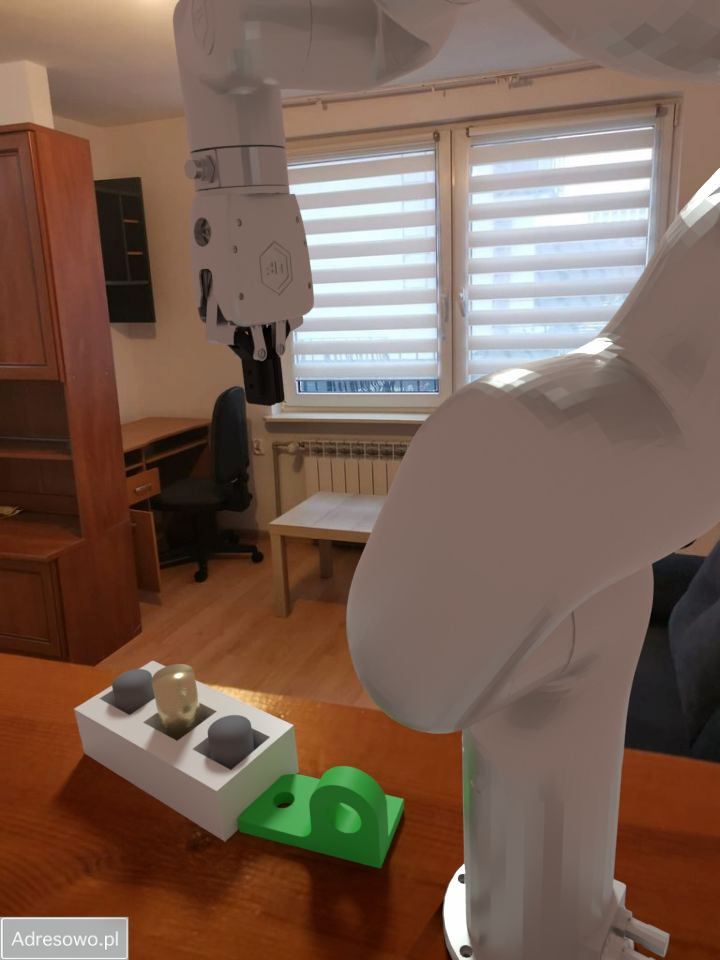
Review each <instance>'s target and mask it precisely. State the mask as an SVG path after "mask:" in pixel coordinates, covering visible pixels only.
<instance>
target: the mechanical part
mask: <svg viewBox="0 0 720 960" xmlns="http://www.w3.org/2000/svg"><path fill="white" fill-rule="evenodd" d="M282 804H290V805H289V806H287V807H278V806H281V805H282ZM404 810H405V799H404V798H402V797H401V798H400V797H399V796H398V797H397V796H392V795H389V794H385V792H384V790H383V788H382V787H381V785H380V784H379V783H378V782H377V781H376V780H375V779H374V778H373V777H372V776H370V775H369V774H367V773H366V772H364V771H362V770H361V769H358V768H356V767H354V766H347V765H346V766H345V765H339V766H338V765H337V766H334V767H332V768H329V769H327V770H326V771H325V772H324V773H323V774H322V776H321V778H316V777H313V776H307V775H304V774H299V773H298V774H287V775H282V776H281V777H280V778H279V779H277V780H276V781H275V782H274V783H273V784H272V785H271V786H270V787H269V788H268V789H267V790H265V791H264V792H263V793H262V794H261V795H260V796H259V797H258V798H257V799H256V800H255V801H254V802H252V803H251V804H250V805H249V806H248V807H247V808H246V809H245V810H244V811H243V813H242V814H241V816H240V817H239V819H238V824H239V829H238V830H239V833H243V834H247V835H250V836H255V837H258V838H262V839H265V840H270V841H274V842H277V843H281V844H285V845H289V846H293V847H296V848H301V849H304V850H308V851H312V852H316V853H319V854H324V855H327V856H331V857H335V858H337V859H338V858H339V859H342V860H347V861H350V862H354V863H358V864H362V865H365V866H370V867H373V868H377V869H382V867H383V864H384V861H385V858H386V857H387V854H388V851H389V849H390V846H391V844H392V840H393V838H394V836H395V833H396V830H397V828H398V825H399V824H400V820H401V818H402V815H403V813H404Z"/></svg>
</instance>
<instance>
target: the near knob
mask: <svg viewBox="0 0 720 960" xmlns="http://www.w3.org/2000/svg"><path fill="white" fill-rule="evenodd" d="M208 739H209V745H210V752H211V758H212V760H213V761H215V762H217V763H219V764H221V765H222V766H224V767H226V768H228V769H230V770H232V769H233V768H234V767H235V766H237V765H238V764H239V763H240V762H241V761H243V760H244V759H245V758H246V757H247V756H248V755H250V754H251V753H252V752H253V751H254V743H253V735H252V728H251V723H250V721H249V720H248V719H247V718H246V717H243V716H240V715H229V716H225V717H222V718H220V719H218V720H216V721H215V722H213V723H212V724H211V726H210V727H209V729H208Z"/></svg>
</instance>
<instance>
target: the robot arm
mask: <svg viewBox="0 0 720 960" xmlns="http://www.w3.org/2000/svg"><path fill="white" fill-rule="evenodd" d="M508 1H509V2H510V3H511V4H512V5H513V6H515V8H517V9H518V10H519V11H520V12H521V13H523V14H524V15H525V16H526V17H527V18H529V19H530V20H531V21H532V22H533V23H535V25H537V26H538V27H540V28H541V30H543V31H544V32H545V33H547V34H548V35H549V36H551V37H552V38H553V39H554V40H556V41H557V42H558V43H560V44H561V45H562V46H564V47H565V48H567V49H568V50H570V51H571V52H573V53H575V54H577V55H578V56H580V57H582V58H584V59H585V60H588V61H589V62H591V63H594V64H595V65H598V66H600V67H602V68H605V69H607V70H611V71H614V72H617V73H621V74H624V75H629V76H631V77H636V78H639V79H645V80H652V81H657V82H658V81H660V82H671V83H672V82H674V83H675V82H678V83H687V84H698V85H699V84H700V85H710V86H719V87H720V0H508ZM477 2H480V0H178V1H177V3H176V4H175V7H174V9H173V15H172V25H173V26H172V27H173V36H174V44H175V51H176V60H177V67H178V73H179V81H180V82H179V83H180V90H181V97H182V105H183V112H184V119H185V129H186V137H187V143H188V151H189V158H190V159H187V161H186V162H185V163H184V167H183V168H184V174H185V176H186V177H187V178H188V179H189V180H192V181H193V189H194V196H195V197H193V198H191V199H190V211H189V212H190V213H189V216H190V217H189V248H190V249H189V251H190V253H189V254H190V267H191V268H190V269H191V279H192V288H193V295H194V302H195V306H196V310H197V315H198V317H199V319H200V321H201V322H202V323H204V324H205V340H206V342H208V343H209V344H217V345H218V344H219V345H226V346H227V347H228V348H230V349H231V350H232V352H233V356H234V358H235V359H237V360H240V361H241V369H242V378H243V384H244V385H243V386H244V394H245V401H246V402H247V403H248V404H251V405H258V406H267V407H272V406H275V405H276V404H280V403H284V402H285V400H286V399H285V398H286V397H285V388H284V387H285V385H284V377H283V368H282V358H281V357H282V356H284V355H285V353H286V341H287V339H288V337H289V335H290V333H291V332H293V331H295V330H297V328H300V327H301V326H302V325H303V323H304V317H303V316H306V315H308V314H309V313H310V312H311V311H312V309H313V308H314V305H315V294H314V293H315V292H314V283H313V277H312V276H313V275H312V269H311V268H312V267H311V266H312V265H311V261H310V260H311V258H310V253H309V247H308V241H307V235H306V230H305V226H304V221H303V217H302V213H301V209H300V204H299V203H298V199H297V196H296V193H291V192H290V182H289V180H290V179H289V171H288V161H287V150H286V136H285V135H286V134H285V125H284V113H283V105H282V104H283V103H282V90H300V91H301V90H302V91H319V92H321V91H322V92H324V91H325V92H332V93H333V92H335V93H358V92H362V91H363V92H364V91H368V90H371V89H375V88H379V87H380V86H383V85H386V84H388V83H390V82H392V81H395V80H398V79H400V78H402V77H404V76H407V75H409V74H411V73H413V72H415V71H417V70H419V69H421V68H423V67H425V66H427V65H428V64H429V63H431V62H432V61H433V60H434V59H435V58H436V57H437V56H438V54H439V53H440V52H441V50H442V49H443V47H444V45H446V42H447V40H448V39H449V38H450V36H451V34H452V32H453V30H454V29H455V27H456V23H457V21H458V19H459V16H460V14H461V11H463V10H464V9H466V8H468V7H469V6H471V5H473V4H475V3H477ZM385 497H386V498H384V502H383V504H382V507H381V509H380V511H379V513H378V516H377V518H376V520H375V522H374V526H373V528H372V530H371V532H370V534H369V536H368V539H367V542H366V544H365V546H364V549H363V551H362V554H361V556H360V559H359V560H358V563H357V566H356V567H355V571H354V573H353V577H352V580H351V584H350V589H349V591H348V597H347V605H346V616H345V617H346V618H345V619H346V624H345V625H346V639H347V643H348V644H347V645H348V649H349V654H350V658H351V662H352V665H353V668H354V671H355V673H356V676H357V678H358V681H359V683H360V684H361V685H362V688H363V689H364V691H365V692H366V694H367V695H368V697H369V698H370V699H371V700H372V702H373V703H374V704H375V705H376V706H377V707H378V708H379V709H380V710H381V711H382V712H383V713H385V714H386V715H387V716H388V717H389V718H391V719H393V720H394V721H395V722H397V723H399V724H401V725H402V726H405V727H407V728H409V729H412V730H414V731H415V730H416V731H419V732H422V733H427V734H428V733H429V734H435V735H436V734H438V735H439V734H441V735H442V734H451V733H455V732H456V733H457V732H460V731H461V733H462V734H461V751H462V753H461V754H462V755H461V756H462V758H461V759H462V763H461V764H462V766H461V767H462V804H463V805H462V811H463V812H462V813H463V814H462V815H463V818H462V819H463V864H462V865H461V866H460V867H459V868H458V869H457V870H456V871H455V873H453V876H452V877H451V880H450V881H449V883H448V885H447V888H446V891H445V894H444V897H443V902H442V903H443V904H442V931H443V935H444V939H445V945H446V948H447V950H448V952H449V955H450V957H451V960H656V959H655V958H654V957H647V956H646V955H644V954H642V953H640V952H638V951H636V950H635V943H637V944H639V945H641V946H642V947H643V948H644V949H647V951H650V952H652V953H654V954H655V955H658V956H660V957H662V958H665V956H666V954H667V950H668V948H669V943H670V933H668V932H666V931H664V930H661V929H660V928H657V927H656V926H653V925H651V924H647V923H645V922H642V921H641V920H638V919H636V918H635V917H633V912H632V911H631V910H629V909H628V908H626V906H625V905H626V892H627V891H626V890H627V885H626V884H625V883H624V882H622V881H619V880H617V879H615V878H614V876H615V866H616V865H615V861H616V849H617V848H616V847H617V836H618V824H619V822H618V821H619V810H620V809H619V808H620V797H621V796H620V795H621V782H622V769H623V761H624V753H625V752H624V750H625V738H626V728H627V727H626V726H627V717H628V710H629V709H628V708H629V704H630V696H631V691H632V687H633V681H634V676H635V672H636V670H637V666H638V663H639V659H640V657H641V656H640V655H641V652H642V650H643V646H644V642H645V638H646V635H647V631H648V628H649V624H650V619H651V616H652V615H651V613H652V608H653V602H654V601H653V600H654V599H653V598H654V585H655V584H654V581H655V580H654V569H653V564H654V563H656V562H658V561H661V560H662V559H664V558H666V557H667V556H669V555H671V554H672V553H674V552H675V553H676V551H678V550H680V549H682V548H684V547H685V546H686V545H689V544H690V543H692V542H694V541H696V540H697V539H699V538H700V537H702V536H703V535H705V534H706V533H707V532H709V531H711V529H713V528H714V527H716V525H718V523H720V167H719V168H718V169H717V170H716V171H715V172H714V173H713V174H712V175H711V177H709V178H708V180H706V182H705V183H703V185H702V186H701V187H700V188H699V189H698V190H697V192H695V194H694V195H692V197H691V198H690V199H689V201H688V202H687V203H686V205H684V206H683V208H682V209H681V210H680V211H679V213H678V214H677V216H676V217H675V218H674V220H673V222H672V223H671V224H670V225H669V226H668V228H667V229H666V231H665V233H664V234H663V236H662V237H661V239H660V242H659V243H658V244H657V247H656V249H654V252H653V254H652V256H651V258H650V260H649V261H648V263H647V265H646V267H645V269H644V270H643V272H642V274H640V277H639V278H638V280H637V281H636V283H635V284H634V286H633V287H632V289H631V291H630V292H629V294H628V295H627V296H626V298H625V299H624V301H623V302H622V304H621V306H620V307H619V308H618V310H617V311H616V312H615V314H614V315H613V317H612V318H611V319H610V321H609V322H608V323H607V324H606V325H605V326H604V327H603V329H601V330H600V332H599V333H598V334H597V335H596V336H595V337H594V338H592V339H591V340H590V341H589V342H587V343H586V344H584V345H582V346H580V347H578V348H576V349H573V350H572V351H569V352H567V353H564V354H560V355H557V356H553V357H550V358H549V357H548V358H545V359H544V358H543V359H540V360H536V361H530V362H528V363H523V364H519V365H516V366H511V367H508V368H505V369H501V370H497V371H495V372H492V373H490V374H487V375H484V376H481V377H479V378H476V379H474V380H472V381H471V382H469V383H467V384H465V385H464V386H462V387H460V388H458V389H457V390H456V391H454V392H453V393H452V394H450V395H449V396H448V397H447V398H446V399H444V400H443V401H442V402H441V403H440V404H439V405H438V406H437V407H436V408H435V409H433V411H432V412H431V413H430V414H429V415H428V417H426V419H424V422H422V425H420V427H419V428H418V430H417V431H416V432H415V434H414V436H413V438H412V439H411V441H410V443H409V445H408V447H407V449H406V451H405V454H404V455H403V457H402V460H401V462H400V464H399V466H398V469H397V471H396V473H395V476H394V478H393V481H392V483H391V486H390V487H389V490H388V492H387V494H386V496H385Z"/></svg>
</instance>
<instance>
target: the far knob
mask: <svg viewBox="0 0 720 960" xmlns="http://www.w3.org/2000/svg"><path fill="white" fill-rule="evenodd" d="M111 686H112V688H113V693H114V697H115V702H116V707H117V709H119V710H121V711H123V712H125V713H127V714H128V715H131V714H132V713H134V712H135V711H137V710H138V709H140V708H141V707H143V706H144V705H146V704H147V703H149V702H150V701H152V700H153V699H155V695H154V690H153V684H152V675H151V673H150V672H149V671H147V670H144V669H140V668H138V669H137V668H136V669H129V670H127V671H124V672H122V673H120V674H119V675H117V676H116V677H115V678H114V679H113V680H112V683H111Z"/></svg>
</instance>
